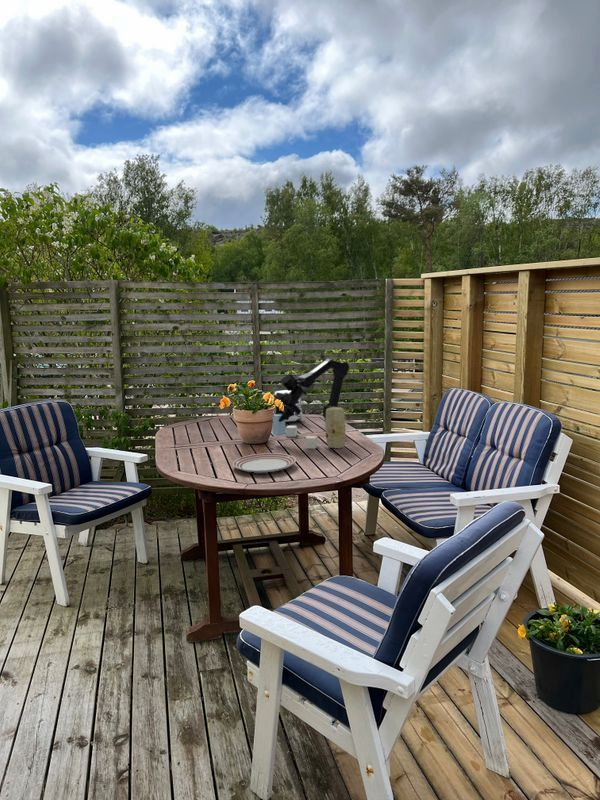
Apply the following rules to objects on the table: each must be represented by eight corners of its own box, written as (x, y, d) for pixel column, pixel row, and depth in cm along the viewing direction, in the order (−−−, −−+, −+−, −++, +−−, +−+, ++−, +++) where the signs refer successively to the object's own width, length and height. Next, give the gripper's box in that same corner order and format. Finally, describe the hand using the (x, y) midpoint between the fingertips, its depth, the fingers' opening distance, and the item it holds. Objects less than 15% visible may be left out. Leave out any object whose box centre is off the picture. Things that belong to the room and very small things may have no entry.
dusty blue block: (280, 432, 298) (280, 413, 297) (285, 434, 295) (285, 414, 293) (273, 434, 296) (272, 414, 294) (278, 435, 292) (277, 415, 290)
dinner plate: (239, 479, 238) (238, 471, 238) (228, 462, 264) (227, 455, 264) (303, 473, 246) (303, 465, 245) (286, 457, 272) (286, 450, 271)
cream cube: (317, 446, 291) (317, 436, 290) (315, 448, 286) (315, 438, 285) (307, 445, 292) (307, 436, 291) (305, 448, 287) (305, 438, 286)
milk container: (304, 423, 345) (303, 393, 342) (275, 425, 343) (274, 394, 340) (300, 418, 362) (299, 389, 359) (272, 419, 360) (271, 390, 357)
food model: (344, 445, 290) (343, 405, 287) (346, 448, 284) (346, 408, 281) (324, 446, 289) (324, 406, 286) (327, 449, 283) (326, 408, 279)
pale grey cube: (297, 434, 317) (297, 425, 316) (295, 436, 312) (295, 427, 311) (288, 434, 318) (287, 425, 317) (286, 436, 313) (285, 427, 312)
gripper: (274, 384, 301) (256, 408, 296) (295, 388, 286) (277, 413, 282) (287, 398, 307) (270, 421, 302) (308, 402, 292) (291, 427, 287)
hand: (276, 420), depth 293 cm, fingers closed on dusty blue block, 4 cm apart
